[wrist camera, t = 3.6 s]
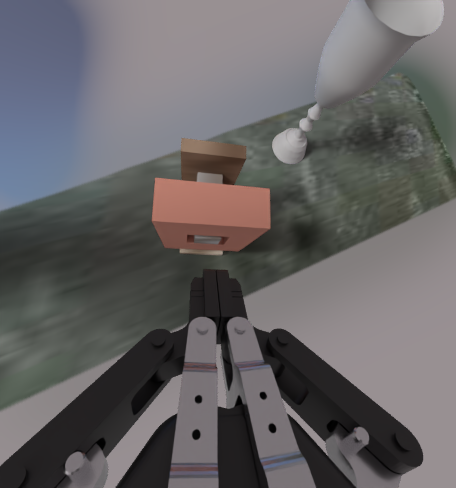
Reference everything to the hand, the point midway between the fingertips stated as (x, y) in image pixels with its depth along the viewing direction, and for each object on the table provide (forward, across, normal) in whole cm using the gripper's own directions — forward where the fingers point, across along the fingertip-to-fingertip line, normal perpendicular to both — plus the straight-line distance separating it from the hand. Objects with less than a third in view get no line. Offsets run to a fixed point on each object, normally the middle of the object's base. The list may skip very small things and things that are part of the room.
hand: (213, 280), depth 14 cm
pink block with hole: (+11, 0, +4) cm, 12 cm away
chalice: (+24, -12, -4) cm, 27 cm away
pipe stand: (+14, 0, +4) cm, 15 cm away
